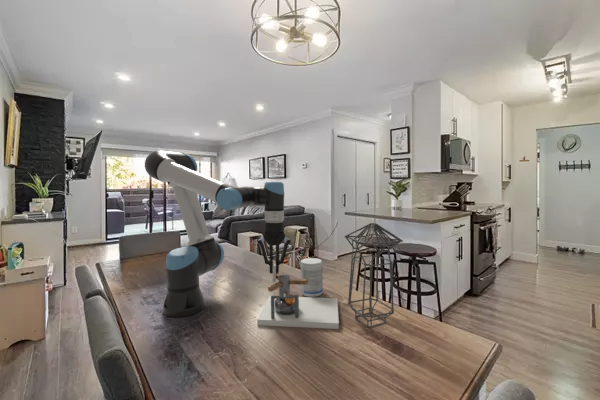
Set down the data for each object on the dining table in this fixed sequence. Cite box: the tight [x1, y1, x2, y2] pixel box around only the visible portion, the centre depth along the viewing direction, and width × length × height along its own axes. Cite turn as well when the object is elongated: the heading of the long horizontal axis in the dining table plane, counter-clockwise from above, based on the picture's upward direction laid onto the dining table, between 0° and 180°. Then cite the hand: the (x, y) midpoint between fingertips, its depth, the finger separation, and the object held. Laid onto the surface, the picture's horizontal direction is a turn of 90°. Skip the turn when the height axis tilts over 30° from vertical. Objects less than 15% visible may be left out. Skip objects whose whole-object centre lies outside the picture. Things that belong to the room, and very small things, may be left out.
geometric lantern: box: [343, 222, 404, 328], centre depth 101 cm, size 16×16×35 cm
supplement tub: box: [300, 257, 324, 298], centre depth 125 cm, size 10×10×15 cm
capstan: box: [267, 273, 308, 315], centre depth 108 cm, size 16×16×12 cm
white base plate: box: [256, 293, 340, 330], centre depth 106 cm, size 28×20×10 cm
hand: (274, 281), depth 111 cm, fingers closed
